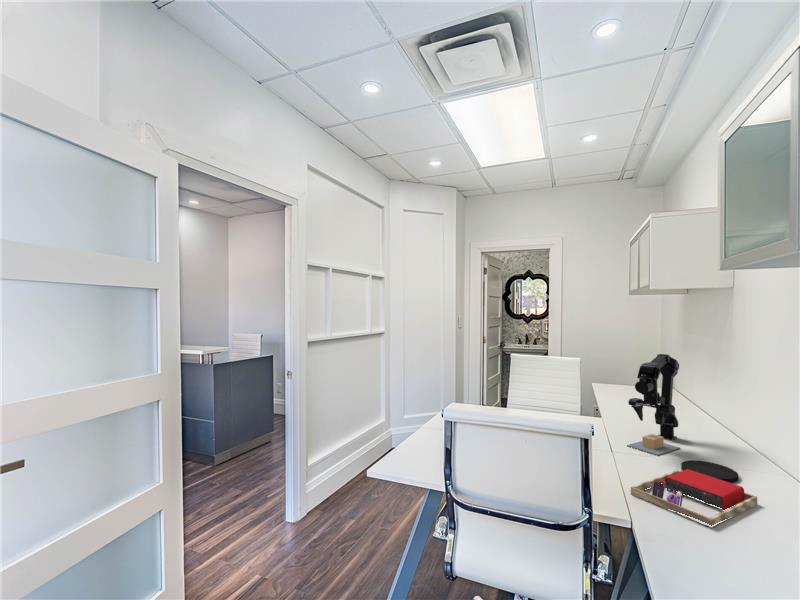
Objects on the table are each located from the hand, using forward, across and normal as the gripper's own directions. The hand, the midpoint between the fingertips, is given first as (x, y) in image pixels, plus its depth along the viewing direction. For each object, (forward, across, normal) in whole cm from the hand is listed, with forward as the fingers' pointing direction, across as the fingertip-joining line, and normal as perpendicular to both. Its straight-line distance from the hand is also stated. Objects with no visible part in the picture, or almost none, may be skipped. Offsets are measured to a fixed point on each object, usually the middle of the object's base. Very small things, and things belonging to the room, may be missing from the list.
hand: (651, 423), depth 185 cm
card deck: (+10, -1, +2) cm, 11 cm away
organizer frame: (+10, -36, +41) cm, 55 cm away
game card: (+11, -34, +52) cm, 64 cm away
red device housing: (+11, -36, +34) cm, 51 cm away
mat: (+11, -1, +2) cm, 11 cm away
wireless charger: (+11, -28, +12) cm, 33 cm away
